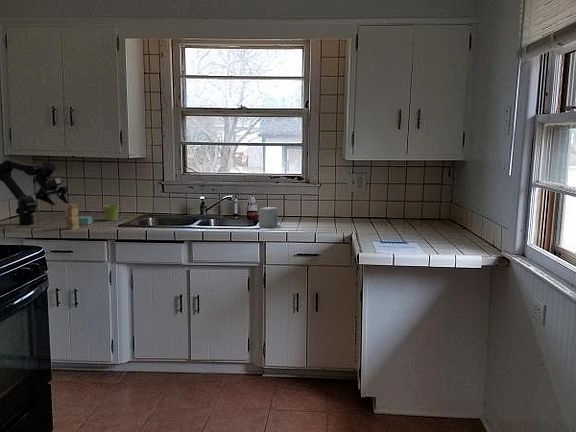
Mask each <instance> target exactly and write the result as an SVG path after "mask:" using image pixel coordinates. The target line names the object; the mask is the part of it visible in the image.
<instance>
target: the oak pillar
mask: <svg viewBox="0 0 576 432" xmlns="http://www.w3.org/2000/svg"><path fill="white" fill-rule="evenodd" d="M78 205H79V204H78V203H77V204H76V203H68V204H64V210H65V211H64V212H65V215H64V216H65V229H66V230H76V229H79V228H80V225H79V221H78V217H79V206H78Z"/></svg>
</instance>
